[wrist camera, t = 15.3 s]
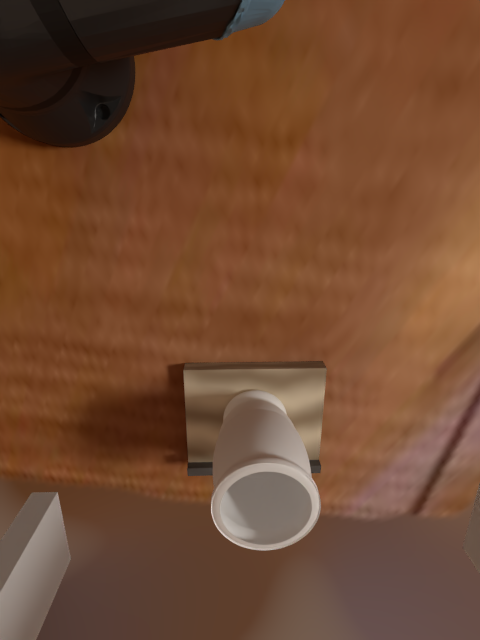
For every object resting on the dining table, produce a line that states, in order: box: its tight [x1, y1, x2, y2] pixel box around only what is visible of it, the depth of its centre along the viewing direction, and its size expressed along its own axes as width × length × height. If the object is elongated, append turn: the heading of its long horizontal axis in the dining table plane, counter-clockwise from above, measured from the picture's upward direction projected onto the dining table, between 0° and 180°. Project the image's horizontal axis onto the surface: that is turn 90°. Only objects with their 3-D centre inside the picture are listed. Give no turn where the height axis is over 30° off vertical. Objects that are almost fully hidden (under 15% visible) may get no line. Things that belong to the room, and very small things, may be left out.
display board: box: [183, 361, 327, 476], centre depth 49 cm, size 15×18×3 cm
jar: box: [211, 390, 321, 550], centre depth 41 cm, size 11×10×15 cm
